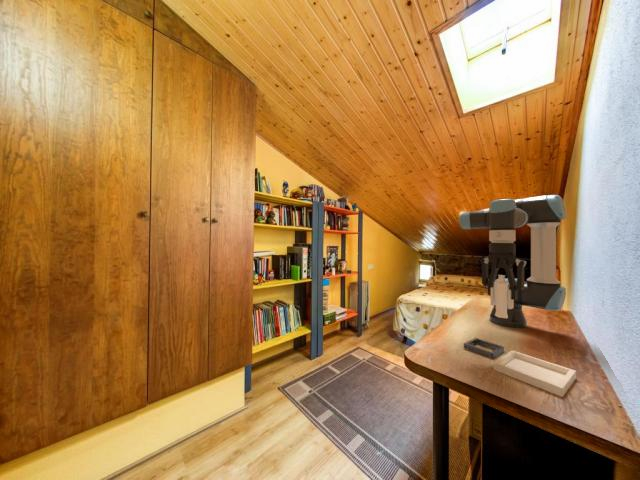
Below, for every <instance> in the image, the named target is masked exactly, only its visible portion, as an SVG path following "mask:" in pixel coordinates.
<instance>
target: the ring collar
mask: <svg viewBox="0 0 640 480" xmlns="http://www.w3.org/2000/svg"><path fill="white" fill-rule="evenodd" d="M477 345H478V346H477ZM479 345H480V346H483V347H484V348H482V347H479ZM485 347H486V348H488V349H492V351H491V350H487V349H485ZM464 348H465V350H467V349H468V350H467V351H470V352H472V353H473V352H474V353H475V352H476V353H475V354H478V355H480V356H481V355H482V356H484V357H487V358H489V359H492V360H494V359H496V358H497V357H499V356H501V355H502V354H503V353H505V346H503V345H501V344H497V343H494V342H490V341H487V340H483V339H481V338H478V337H474V338H472V339H470V340H467V341H465V342H464V343H463V349H464Z"/></svg>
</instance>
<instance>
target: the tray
mask: <svg viewBox="0 0 640 480" xmlns="http://www.w3.org/2000/svg"><path fill="white" fill-rule="evenodd" d="M493 370H494V371H496V372H499V373H501V374H504V375H505V376H509V377H511V378H514V379H515V380H516V379H517V380H518V381H522V382H524V383H525V384H529V385H532V386H533V387H536V388H538V389H541V390H544V391H546V392H548V393H551V394H554V395H556V396H559V397H561V398H563V397H564V396H565V395H566V393H567V392H568V390H569V389H570V387H571V386H572V385H573V383H574V382H575V381H576V379H577V371H576V370H574V369H572V368H569V367H565V366H562V365H560V364H557V363H553V362H550V361H547V360H543V359H541V358H538V357H534V356H531V355H529V354H525V353H522V352H519V351H516V350H510V351H508V352H507V353H506V354H504V355H503V356H500V358H498V359H497V360H495V361H494V362H493Z"/></svg>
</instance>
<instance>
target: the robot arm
mask: <svg viewBox="0 0 640 480" xmlns="http://www.w3.org/2000/svg"><path fill="white" fill-rule="evenodd" d="M566 218H567V210H566V206H565V202H564V199H563V198H562V197H561V196H560V195H558V194H548V195H547V194H546V195H539V196H533V197H532V196H531V197H524V198H523V197H522V198H516V199H512V198H504V199H503V198H502V199H494V200H492V201H490V203H489V207H488V208H484V209H479V210H475V211H465V212H462V213H461V214H460V216H459V218H458V219H459V226H460V228H461V229H463V230H474V229H476V230H477V229H488V230H489V231H488V232H489V234H488V236H489V237H488V241H489V243H488V250H489V251H488V252H489V253H488V256H487V257H485V258H480V259H479V262H480V264H481V284H482V285H485V286H487V296H490V306H493V307H492V310H491V311H490V314H489V320H490V321H491V322H492V323H494V324H498V325H500V326H505V327H510V328H526V327H528V325H527V324H528V321H527V319H526V316H525V314H524V312H523V306H524V307H529V308H535V309H541V310H545V311H550V312H551V311H552V312H559V311H561V309H562V308H563V306H564V304H565V299H566V294H567V290H566V287H565V286H561V285H562V284H561V281H560V280H558V279H557V227H558V226H559V225H561V224H562V223H561V222H562V221H561V220H565V219H566ZM525 225H526V226H529V228H530V277H528V278H526V282H525V267H526V265H527V261H526V260H522V259H519V258H518V257H517V255H516V252H517V251H516V249H517V248H516V243H515V242H516V240H517V239H516V230H517V228H521V227H523V226H525ZM489 263H491V270H490V274H489ZM515 263H516V266H517V268H516V278H515V275H514V268H513V265H514V264H515ZM500 268H502V269H504V272H505V273H506V274H505V275H506V278H505V281H506V282H508V283H509V290H508V306H507V315H508V318H500V317H497V316H495V313H496V305H495V293H494V282H495V281H498V278H497V276H498V272H499V270H500Z"/></svg>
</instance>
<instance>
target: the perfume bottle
mask: <svg viewBox="0 0 640 480" xmlns="http://www.w3.org/2000/svg"><path fill="white" fill-rule="evenodd" d="M497 276H498V277H497V279H498V281H495V282H494V286H493V287H494V293H495V305H496V313H495V316H497V317H500V318H508V315H507V306H508V290H509V283H508V282H506V281H505V279H506V274H504V275H503V274H497Z"/></svg>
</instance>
